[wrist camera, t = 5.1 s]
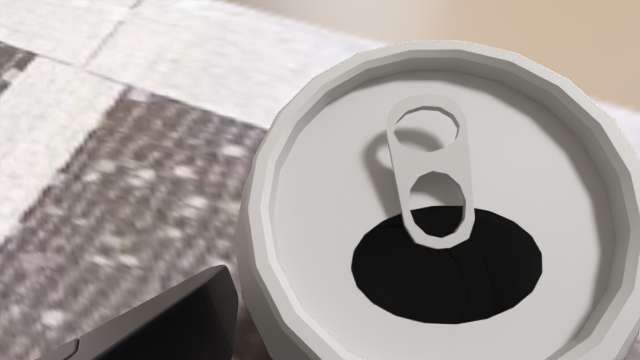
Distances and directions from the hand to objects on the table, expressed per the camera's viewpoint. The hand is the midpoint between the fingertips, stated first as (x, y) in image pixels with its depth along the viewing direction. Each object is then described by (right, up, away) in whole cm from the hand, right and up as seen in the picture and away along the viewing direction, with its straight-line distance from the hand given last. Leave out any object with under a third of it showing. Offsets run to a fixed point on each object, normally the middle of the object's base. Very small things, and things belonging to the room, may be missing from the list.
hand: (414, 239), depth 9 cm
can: (+1, -4, +8) cm, 9 cm away
